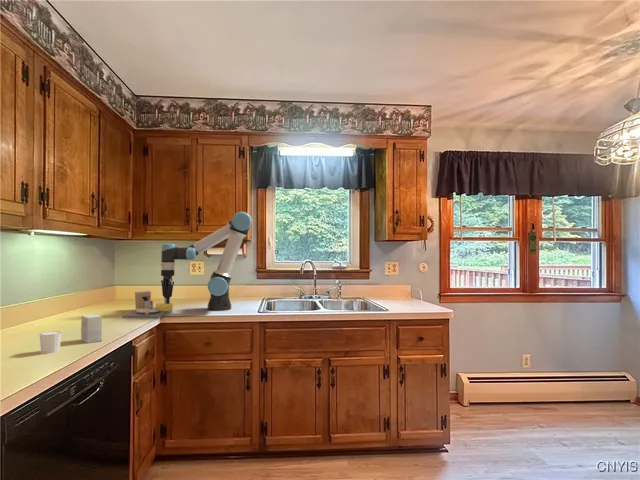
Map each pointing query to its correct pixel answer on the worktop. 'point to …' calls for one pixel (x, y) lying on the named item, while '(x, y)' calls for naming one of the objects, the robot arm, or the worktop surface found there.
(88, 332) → the small box
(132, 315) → the base plate
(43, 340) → the shot glass
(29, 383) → the worktop surface
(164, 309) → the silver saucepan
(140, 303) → the coffee cup
